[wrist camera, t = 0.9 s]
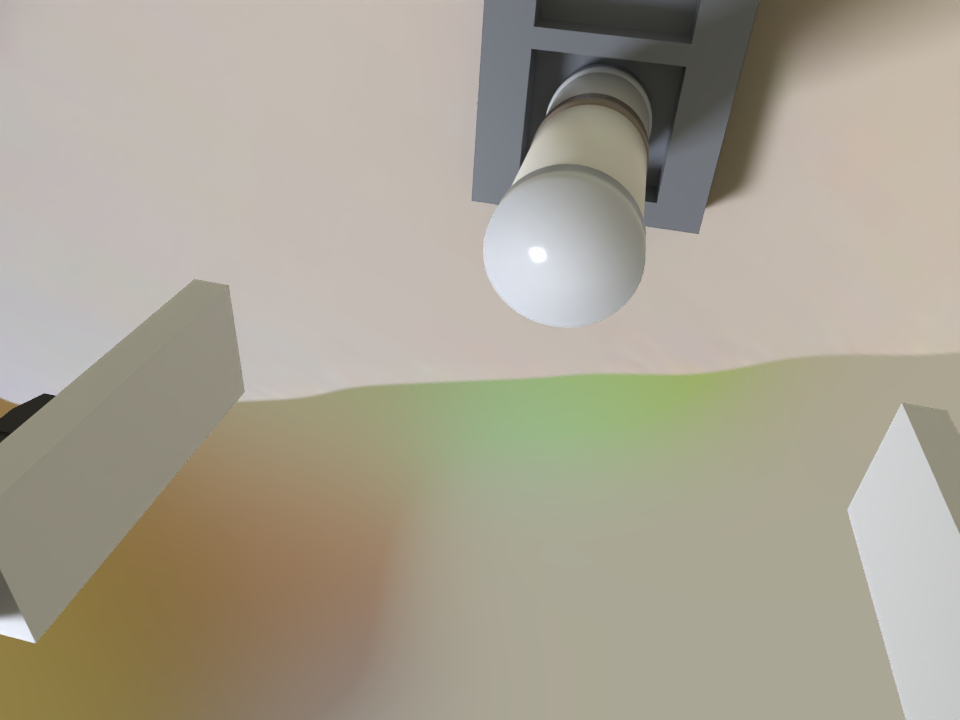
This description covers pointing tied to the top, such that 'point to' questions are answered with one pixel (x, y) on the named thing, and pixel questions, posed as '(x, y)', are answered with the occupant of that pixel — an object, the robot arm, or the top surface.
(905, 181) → the top surface
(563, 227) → the cylinder
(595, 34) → the fuse holder
